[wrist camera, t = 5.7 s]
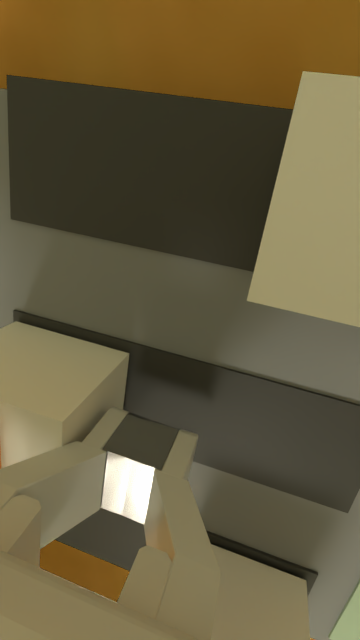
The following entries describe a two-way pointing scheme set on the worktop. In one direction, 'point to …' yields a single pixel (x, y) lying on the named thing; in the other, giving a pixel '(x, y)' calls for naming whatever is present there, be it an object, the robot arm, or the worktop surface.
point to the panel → (189, 317)
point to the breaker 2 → (316, 207)
